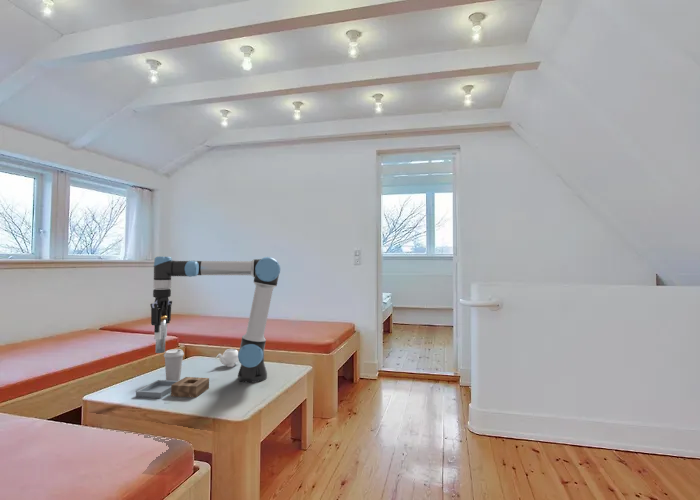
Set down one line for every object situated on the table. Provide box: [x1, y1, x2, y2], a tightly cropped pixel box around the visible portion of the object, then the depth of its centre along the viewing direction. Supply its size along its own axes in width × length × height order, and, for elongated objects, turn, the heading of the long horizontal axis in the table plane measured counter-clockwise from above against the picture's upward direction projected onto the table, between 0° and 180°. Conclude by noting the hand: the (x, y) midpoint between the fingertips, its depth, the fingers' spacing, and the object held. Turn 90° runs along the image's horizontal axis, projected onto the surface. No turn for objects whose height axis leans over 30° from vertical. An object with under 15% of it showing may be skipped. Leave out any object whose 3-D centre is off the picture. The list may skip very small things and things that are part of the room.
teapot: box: [215, 348, 239, 368], centre depth 215 cm, size 10×20×9 cm, turn 140°
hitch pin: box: [155, 315, 167, 354], centre depth 173 cm, size 5×5×17 cm
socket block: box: [170, 376, 210, 399], centre depth 171 cm, size 12×12×5 cm
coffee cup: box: [163, 348, 185, 381], centre depth 188 cm, size 10×10×15 cm
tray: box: [135, 379, 178, 399], centre depth 172 cm, size 12×16×2 cm
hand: (160, 338), depth 173 cm, fingers closed on hitch pin, 4 cm apart
